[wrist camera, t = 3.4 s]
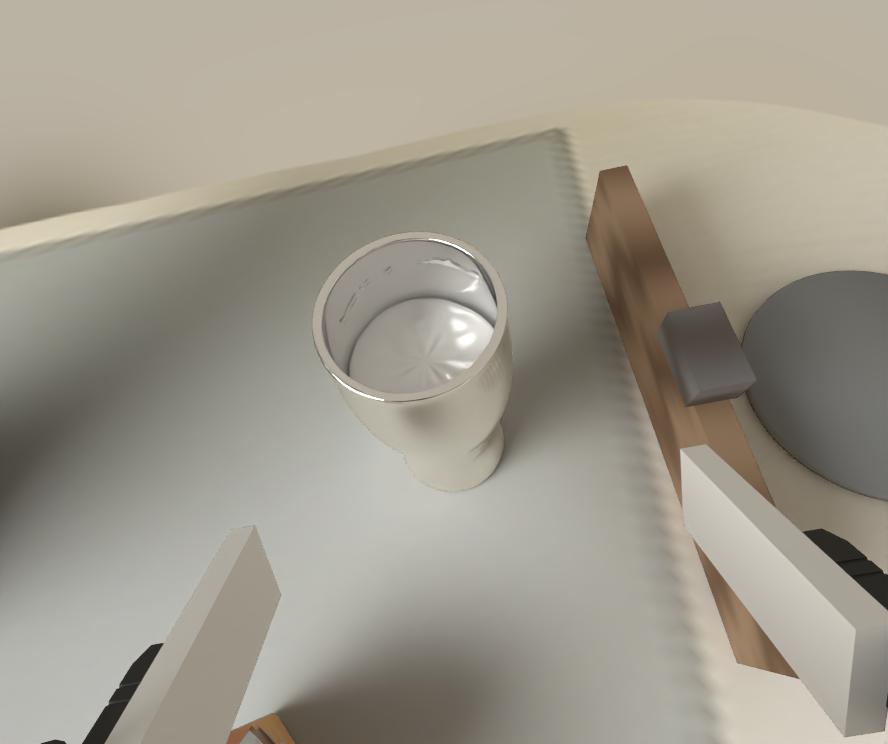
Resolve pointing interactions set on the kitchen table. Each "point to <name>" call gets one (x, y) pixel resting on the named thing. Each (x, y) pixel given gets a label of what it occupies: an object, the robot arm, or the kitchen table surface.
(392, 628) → the kitchen table surface
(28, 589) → the kitchen table surface
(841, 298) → the round pad
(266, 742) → the small box
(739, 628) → the board
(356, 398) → the beer glass
